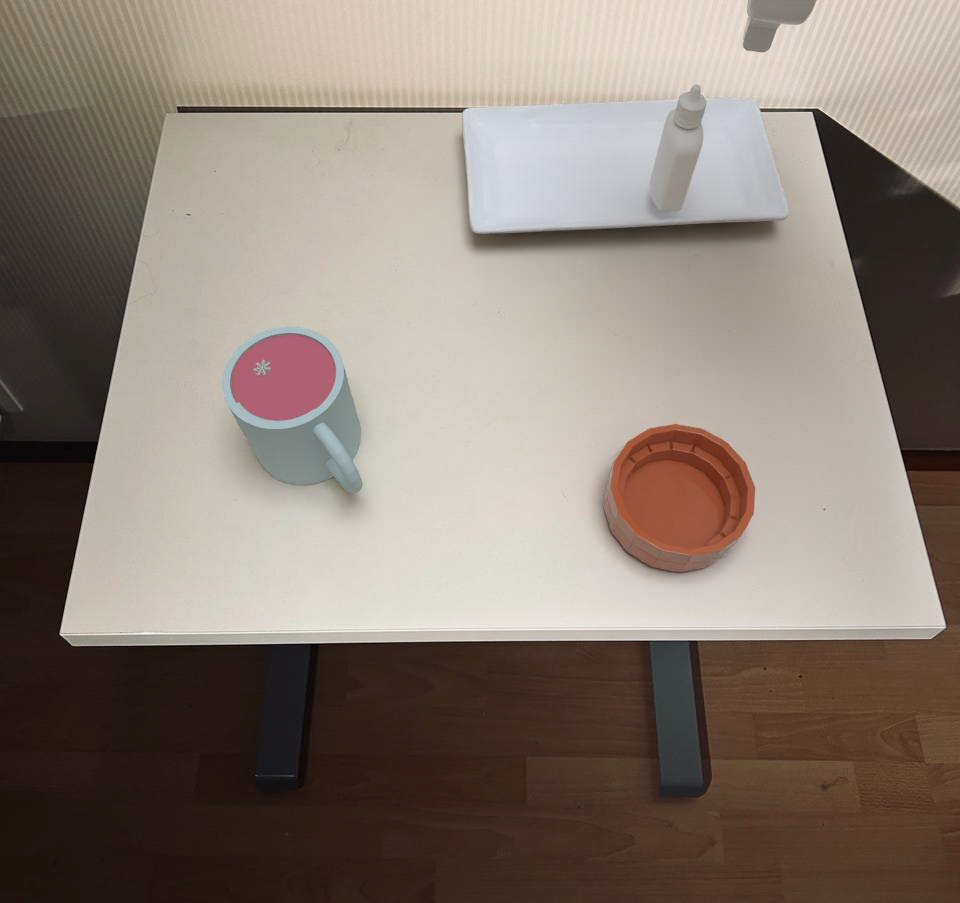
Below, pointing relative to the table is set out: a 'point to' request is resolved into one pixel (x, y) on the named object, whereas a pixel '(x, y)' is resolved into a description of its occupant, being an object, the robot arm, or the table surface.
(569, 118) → the tray
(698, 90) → the eye dropper bottle
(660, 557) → the bowl
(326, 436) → the mug
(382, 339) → the table surface
